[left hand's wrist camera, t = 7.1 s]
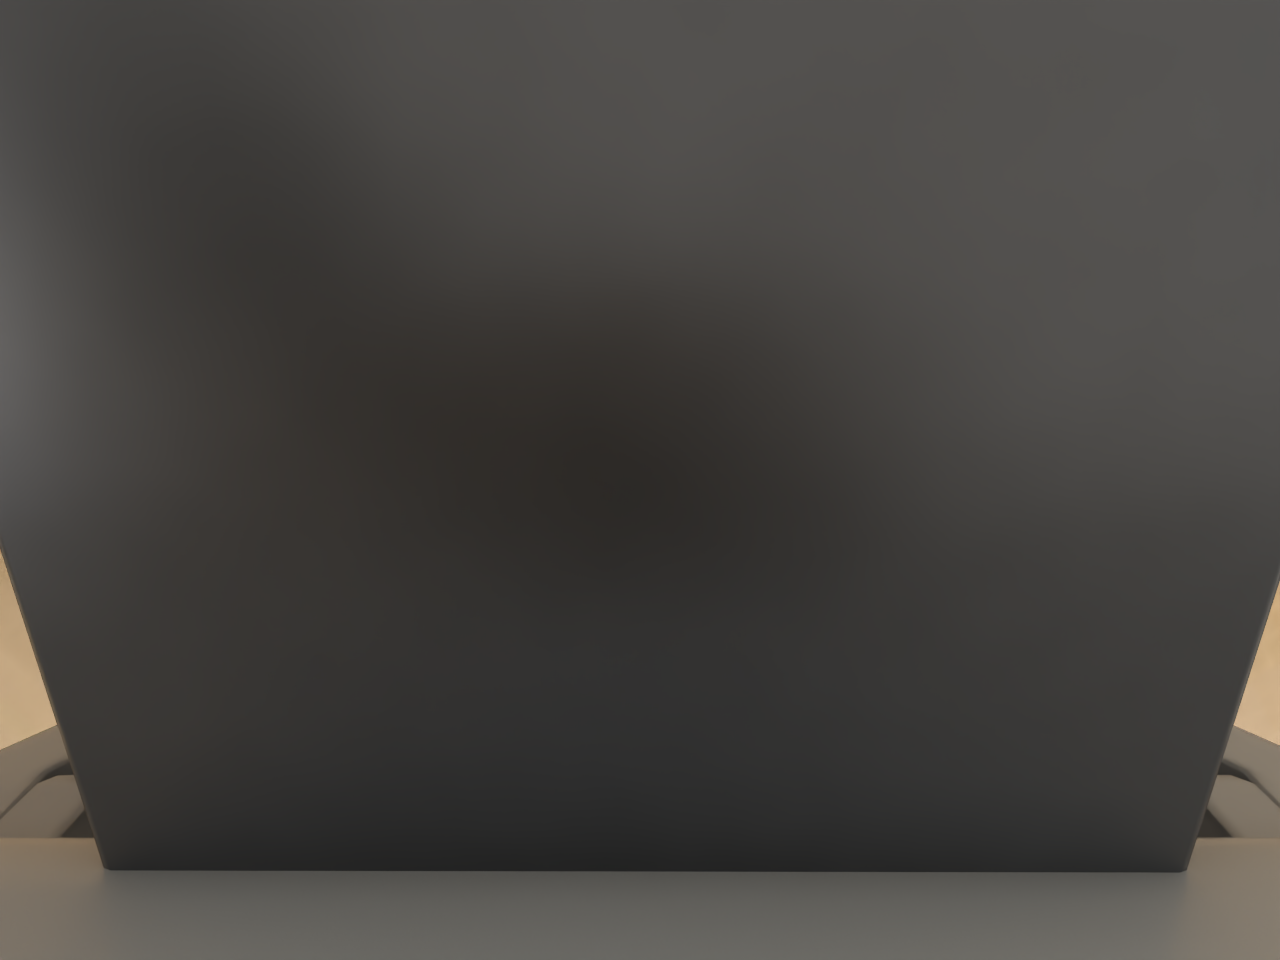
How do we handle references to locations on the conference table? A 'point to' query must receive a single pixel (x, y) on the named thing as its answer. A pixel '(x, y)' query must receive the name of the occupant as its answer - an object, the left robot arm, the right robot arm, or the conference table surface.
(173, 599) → the box
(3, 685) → the conference table surface
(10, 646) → the conference table surface
